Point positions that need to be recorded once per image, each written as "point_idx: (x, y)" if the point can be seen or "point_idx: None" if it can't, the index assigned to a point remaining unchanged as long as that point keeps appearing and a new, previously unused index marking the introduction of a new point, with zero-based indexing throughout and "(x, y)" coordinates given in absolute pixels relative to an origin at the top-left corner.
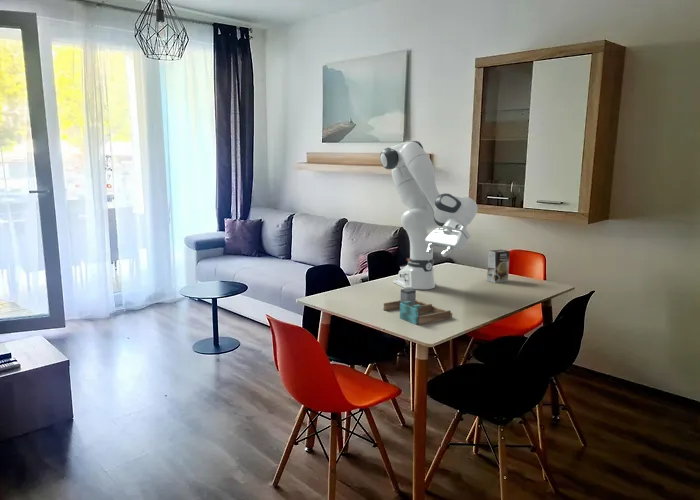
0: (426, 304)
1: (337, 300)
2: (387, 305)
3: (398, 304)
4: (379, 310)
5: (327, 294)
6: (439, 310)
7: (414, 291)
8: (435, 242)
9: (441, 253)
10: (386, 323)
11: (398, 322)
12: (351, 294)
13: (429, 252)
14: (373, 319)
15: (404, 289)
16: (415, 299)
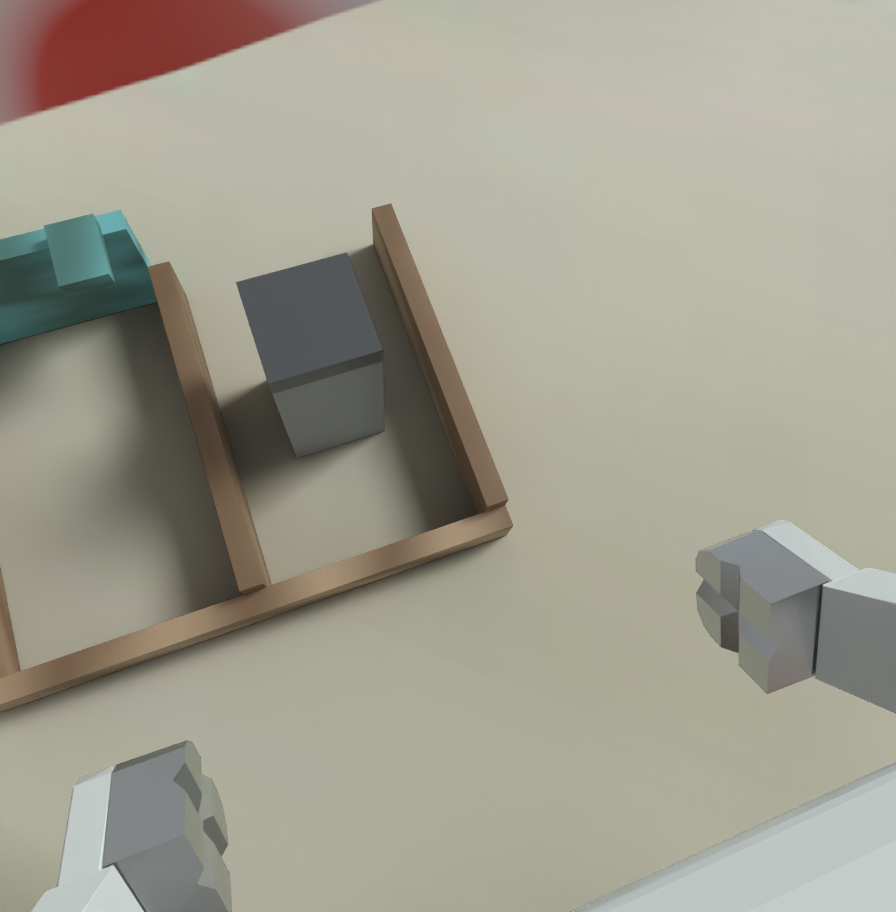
0: (333, 571)
1: (700, 29)
2: (378, 238)
3: (417, 342)
4: None
5: (865, 9)
6: (140, 632)
7: (264, 371)
8: (860, 784)
9: (176, 751)
10: (69, 162)
11: None
12: (861, 149)
13: (715, 597)
14: (188, 113)
15: (336, 286)
16: (283, 420)
